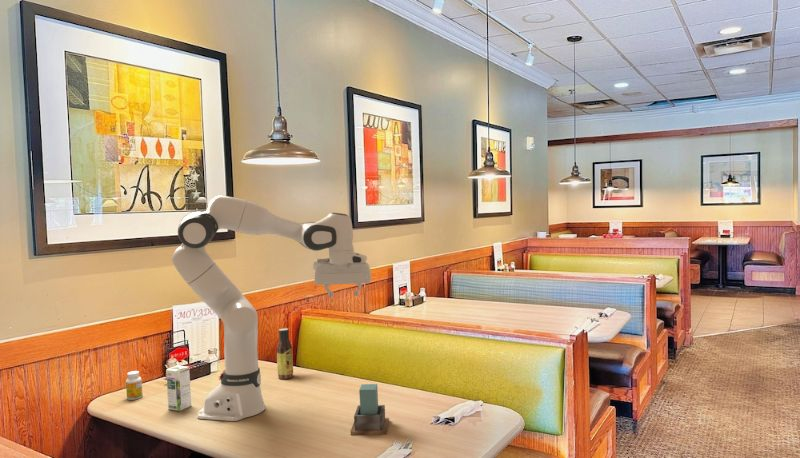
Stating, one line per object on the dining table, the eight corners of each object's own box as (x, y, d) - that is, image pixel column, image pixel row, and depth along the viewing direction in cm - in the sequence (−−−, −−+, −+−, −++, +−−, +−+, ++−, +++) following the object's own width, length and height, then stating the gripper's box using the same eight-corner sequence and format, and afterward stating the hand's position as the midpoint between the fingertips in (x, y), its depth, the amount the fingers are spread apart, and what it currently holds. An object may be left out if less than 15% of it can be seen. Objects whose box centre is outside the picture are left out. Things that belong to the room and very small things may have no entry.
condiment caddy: (350, 434, 167) (349, 417, 166) (355, 421, 177) (354, 404, 176) (386, 434, 166) (385, 416, 166) (389, 420, 176) (388, 404, 176)
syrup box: (167, 409, 195) (164, 369, 194) (180, 403, 200) (178, 364, 199) (179, 411, 192) (176, 370, 191) (192, 405, 197) (189, 366, 197)
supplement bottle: (123, 399, 207) (121, 374, 206) (135, 394, 212) (133, 369, 211) (134, 400, 205) (132, 375, 204) (145, 395, 210) (144, 370, 209)
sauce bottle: (289, 380, 221) (287, 331, 220) (275, 379, 222) (272, 331, 221) (296, 374, 227) (293, 327, 226) (282, 374, 229) (279, 327, 228)
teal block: (361, 428, 169) (359, 389, 168) (363, 421, 174) (361, 384, 173) (377, 427, 169) (375, 389, 168) (378, 421, 174) (377, 384, 173)
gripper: (311, 260, 193) (313, 298, 194) (368, 257, 191) (370, 297, 192) (314, 258, 199) (316, 295, 200) (370, 255, 198) (372, 293, 198)
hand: (343, 296), depth 196 cm, fingers open, 8 cm apart
